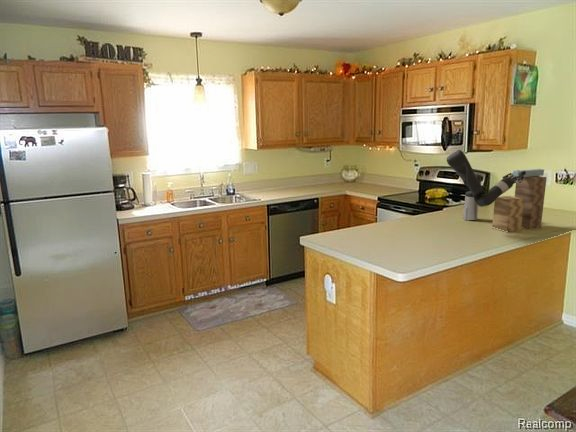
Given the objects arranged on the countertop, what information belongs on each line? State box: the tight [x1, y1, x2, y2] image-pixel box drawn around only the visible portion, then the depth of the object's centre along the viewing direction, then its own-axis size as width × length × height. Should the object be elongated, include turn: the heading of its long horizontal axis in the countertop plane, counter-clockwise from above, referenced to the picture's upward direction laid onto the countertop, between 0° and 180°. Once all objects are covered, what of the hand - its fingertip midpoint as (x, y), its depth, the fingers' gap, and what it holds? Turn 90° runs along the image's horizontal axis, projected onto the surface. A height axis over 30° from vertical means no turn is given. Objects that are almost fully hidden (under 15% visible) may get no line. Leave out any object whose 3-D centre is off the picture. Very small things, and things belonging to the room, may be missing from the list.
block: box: [491, 195, 524, 232], centre depth 275 cm, size 12×12×21 cm
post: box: [514, 176, 547, 230], centre depth 279 cm, size 10×14×34 cm
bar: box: [512, 168, 545, 178], centre depth 274 cm, size 22×4×4 cm, turn 109°
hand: (522, 171), depth 271 cm, fingers closed on bar, 4 cm apart
